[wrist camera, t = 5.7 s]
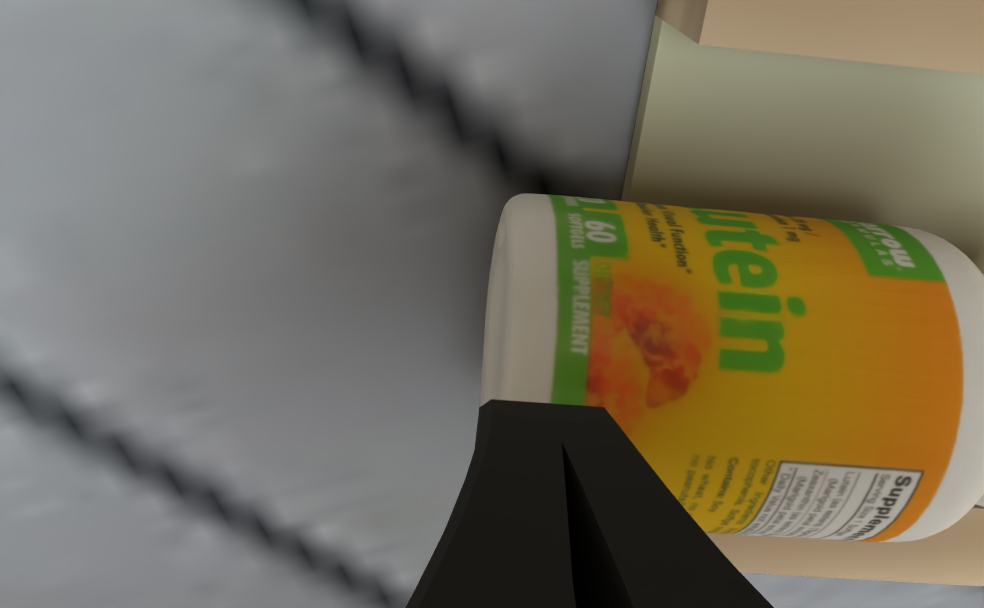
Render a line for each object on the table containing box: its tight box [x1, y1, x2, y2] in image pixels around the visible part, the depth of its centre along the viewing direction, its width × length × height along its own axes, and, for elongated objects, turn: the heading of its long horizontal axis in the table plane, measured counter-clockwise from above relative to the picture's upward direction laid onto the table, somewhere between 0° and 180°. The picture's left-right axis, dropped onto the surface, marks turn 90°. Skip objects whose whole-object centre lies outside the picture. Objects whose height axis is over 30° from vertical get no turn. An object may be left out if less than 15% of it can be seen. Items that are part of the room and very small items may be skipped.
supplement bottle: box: [480, 193, 984, 542], centre depth 14 cm, size 5×5×10 cm
